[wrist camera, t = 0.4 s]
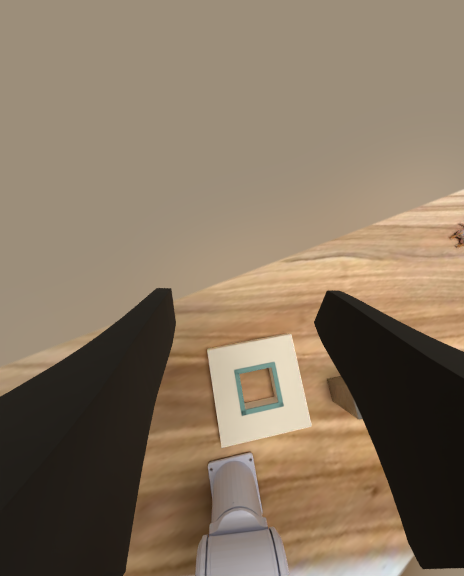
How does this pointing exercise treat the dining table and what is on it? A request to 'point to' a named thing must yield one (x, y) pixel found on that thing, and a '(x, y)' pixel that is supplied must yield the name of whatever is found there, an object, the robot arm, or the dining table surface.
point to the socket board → (266, 412)
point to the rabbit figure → (460, 234)
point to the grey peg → (343, 396)
